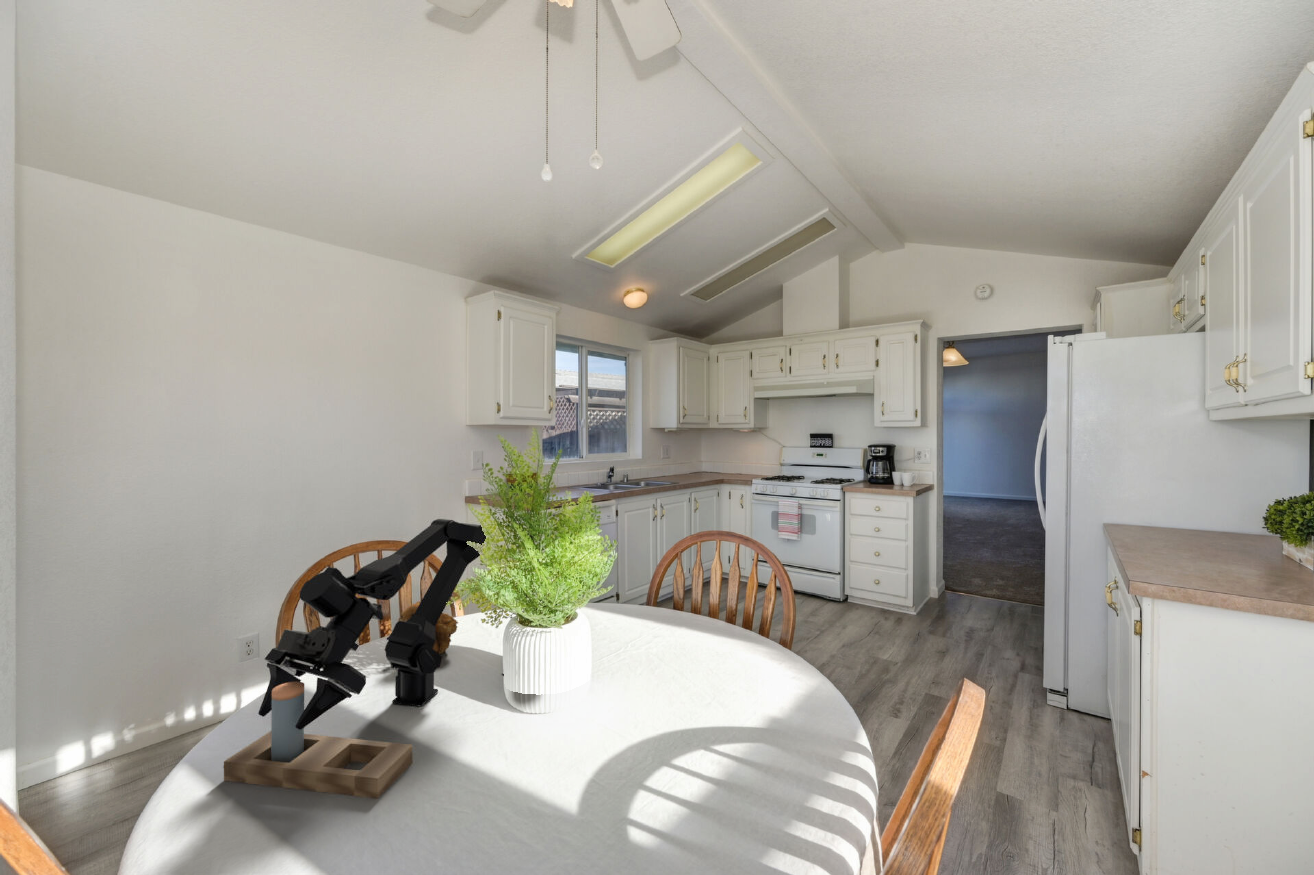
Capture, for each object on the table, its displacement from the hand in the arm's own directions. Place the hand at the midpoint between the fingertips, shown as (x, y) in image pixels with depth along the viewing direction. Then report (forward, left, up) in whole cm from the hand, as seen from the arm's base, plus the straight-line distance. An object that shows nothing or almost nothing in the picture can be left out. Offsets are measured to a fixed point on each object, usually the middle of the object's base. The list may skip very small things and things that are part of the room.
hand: (278, 722), depth 89 cm
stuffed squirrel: (+2, -46, -8) cm, 47 cm away
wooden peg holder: (-6, -1, -8) cm, 10 cm away
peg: (0, -1, -8) cm, 8 cm away
